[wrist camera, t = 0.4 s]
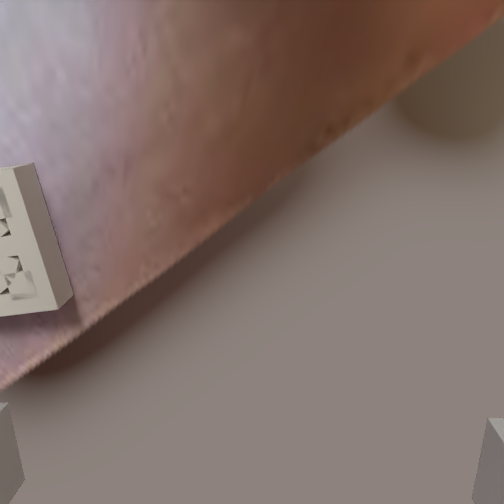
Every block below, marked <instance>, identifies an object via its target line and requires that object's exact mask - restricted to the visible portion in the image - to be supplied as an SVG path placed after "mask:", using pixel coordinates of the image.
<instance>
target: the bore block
mask: <svg viewBox="0 0 504 504" xmlns="http://www.w3.org/2000/svg"><path fill="white" fill-rule="evenodd" d="M73 295H74V294H73V291H72V287H71V284H70V281H69V278H68V274H67V271H66V268H65V265H64V261H63V258H62V255H61V252H60V248H59V245H58V242H57V239H56V235H55V232H54V229H53V226H52V222H51V219H50V216H49V213H48V209H47V206H46V203H45V200H44V196H43V193H42V190H41V187H40V183H39V180H38V177H37V174H36V171H35V167H34V164H33V163H29V164H23V165H17V166H10V167H4V168H0V317H1V316H9V315H18V314H26V313H34V312H42V311H50V310H58V309H59V308H61V307H62V306H63V305H64V304H65V303H66V302H67V301H68V300H69V299H70V298H71V297H72V296H73Z"/></svg>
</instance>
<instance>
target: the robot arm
mask: <svg viewBox="0 0 504 504" xmlns="http://www.w3.org/2000/svg"><path fill="white" fill-rule="evenodd" d="M24 480H25V478H24V473H23V469H22V464H21V459H20V455H19V450H18V446H17V441H16V437H15V432H14V428H13V424H12V418H11V414H10V409H9V405H8V403H0V504H9V503H10V501H11V500H12V498H13V497H14V495H15V494H16V492H17V491H18V489H19V488H20V486H21V485H22V483H23V482H24ZM472 499H473V501H474V503H475V504H504V418H487V424H486V429H485V434H484V439H483V444H482V449H481V454H480V459H479V464H478V470H477V474H476V479H475V485H474V490H473V494H472Z"/></svg>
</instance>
